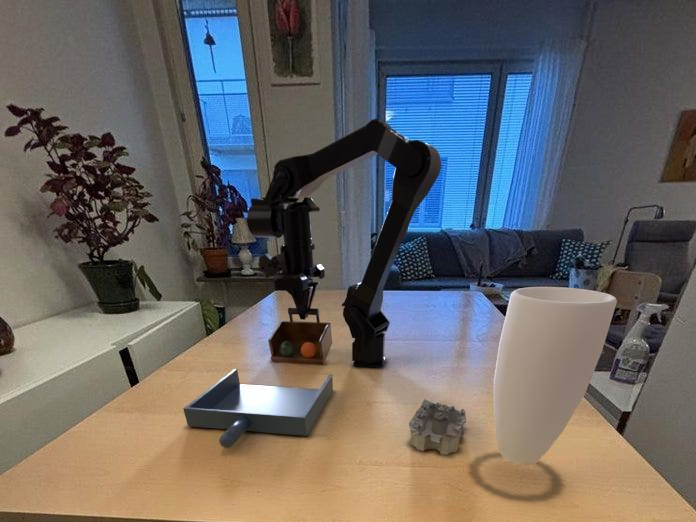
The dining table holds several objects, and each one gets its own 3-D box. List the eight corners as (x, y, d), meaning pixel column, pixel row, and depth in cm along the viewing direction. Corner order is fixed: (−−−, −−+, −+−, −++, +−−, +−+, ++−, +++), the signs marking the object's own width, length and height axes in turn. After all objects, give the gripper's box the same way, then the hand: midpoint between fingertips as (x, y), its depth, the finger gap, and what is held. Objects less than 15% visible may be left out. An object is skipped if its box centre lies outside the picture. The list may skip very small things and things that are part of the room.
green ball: (294, 338, 87) (290, 349, 86) (297, 349, 90) (294, 360, 89) (279, 337, 88) (275, 348, 86) (283, 349, 91) (279, 359, 89)
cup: (466, 453, 56) (496, 285, 43) (540, 455, 55) (592, 286, 43) (482, 498, 47) (526, 303, 35) (570, 500, 47) (646, 305, 34)
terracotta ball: (316, 339, 87) (313, 350, 85) (318, 351, 90) (315, 361, 88) (301, 338, 87) (298, 349, 85) (304, 350, 90) (301, 361, 88)
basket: (332, 342, 94) (329, 307, 89) (323, 364, 87) (319, 329, 82) (284, 339, 96) (278, 306, 90) (271, 361, 89) (263, 326, 83)
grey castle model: (455, 458, 55) (459, 432, 52) (403, 448, 57) (405, 423, 54) (467, 426, 63) (471, 402, 60) (421, 418, 65) (423, 395, 63)
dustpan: (237, 385, 77) (234, 368, 75) (333, 391, 75) (332, 374, 73) (162, 449, 56) (156, 429, 54) (292, 461, 54) (290, 440, 52)
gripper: (275, 235, 90) (283, 308, 99) (242, 242, 75) (255, 327, 84) (323, 235, 88) (326, 309, 97) (298, 242, 73) (305, 329, 82)
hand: (304, 318), depth 90 cm, fingers closed
